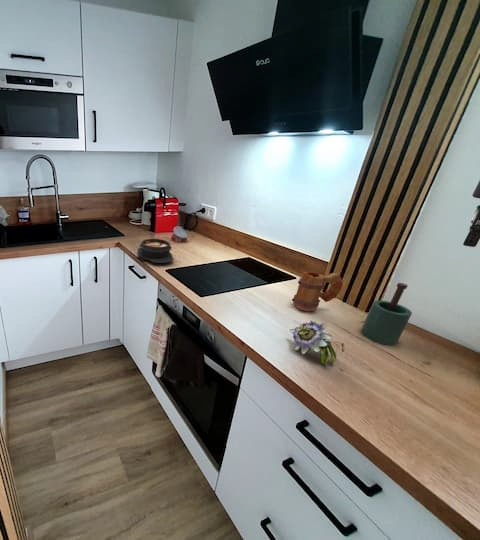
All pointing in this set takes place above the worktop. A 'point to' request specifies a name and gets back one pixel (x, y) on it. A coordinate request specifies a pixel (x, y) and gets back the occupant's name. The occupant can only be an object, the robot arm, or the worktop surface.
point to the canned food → (179, 235)
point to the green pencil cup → (385, 323)
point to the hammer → (397, 296)
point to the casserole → (155, 250)
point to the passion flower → (314, 340)
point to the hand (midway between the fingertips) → (470, 243)
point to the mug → (315, 290)
